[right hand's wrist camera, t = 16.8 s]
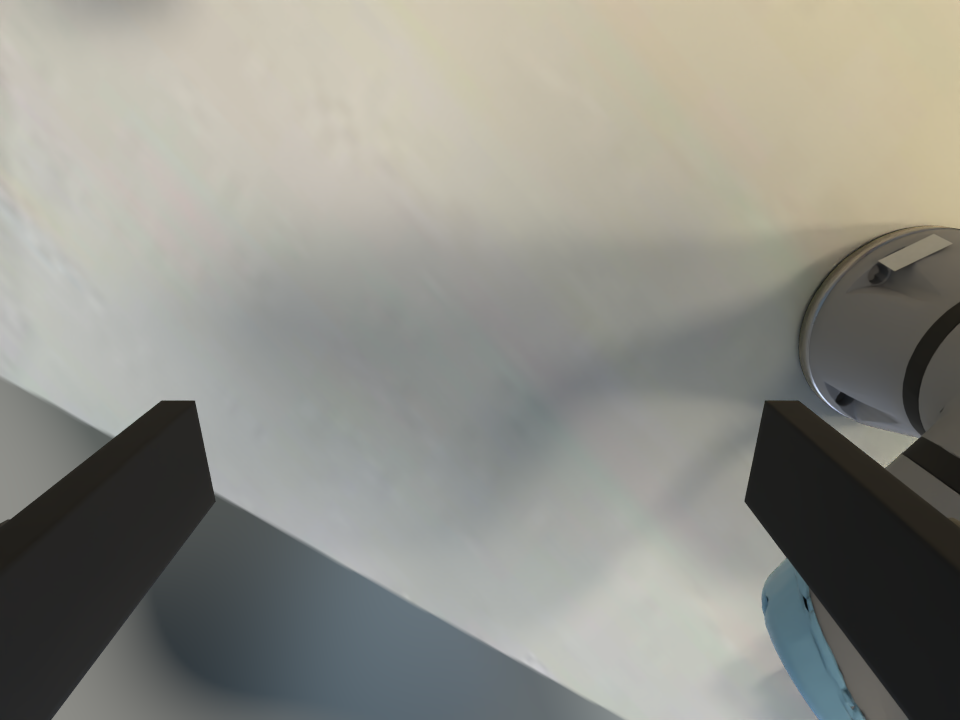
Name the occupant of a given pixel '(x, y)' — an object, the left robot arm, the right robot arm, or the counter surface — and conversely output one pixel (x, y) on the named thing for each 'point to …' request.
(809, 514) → the right robot arm
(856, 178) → the counter surface
